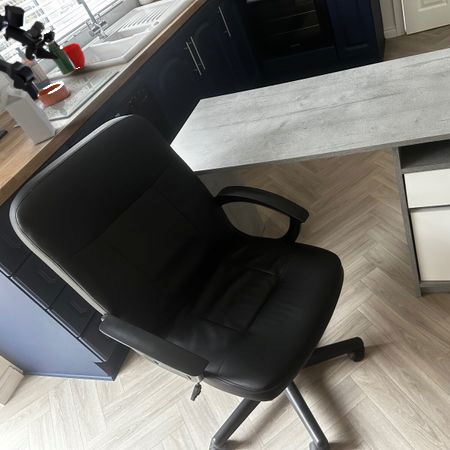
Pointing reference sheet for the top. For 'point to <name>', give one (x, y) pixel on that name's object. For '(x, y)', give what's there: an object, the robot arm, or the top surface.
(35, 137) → the milk carton
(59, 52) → the green bottle
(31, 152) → the top surface
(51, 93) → the pot
